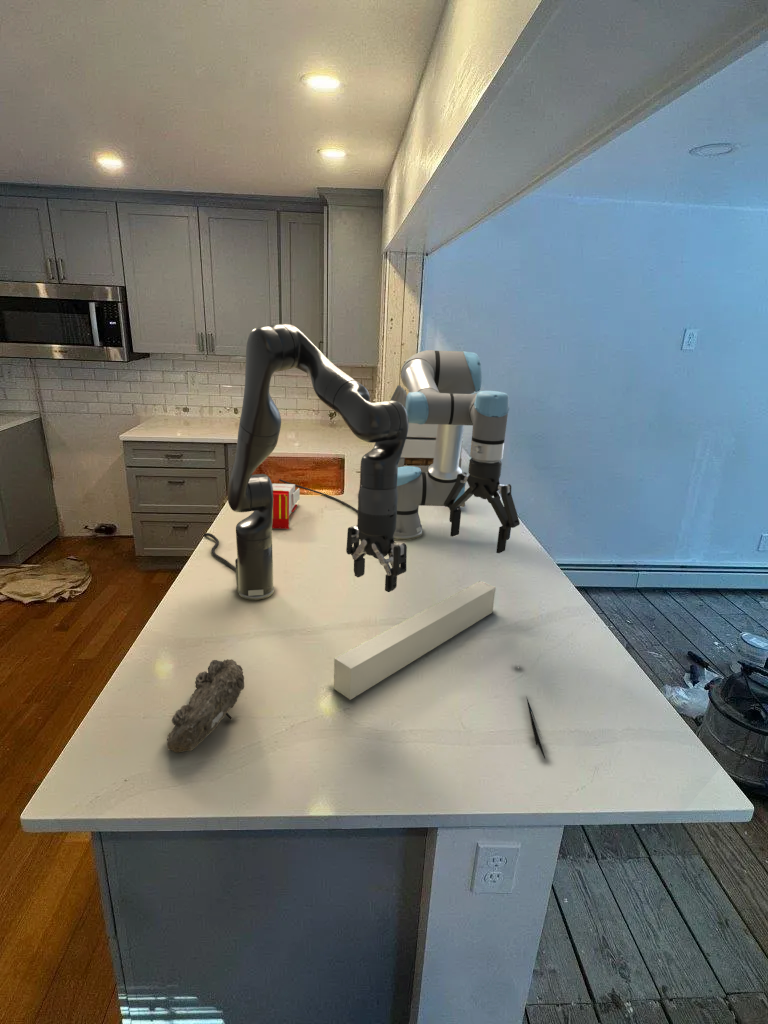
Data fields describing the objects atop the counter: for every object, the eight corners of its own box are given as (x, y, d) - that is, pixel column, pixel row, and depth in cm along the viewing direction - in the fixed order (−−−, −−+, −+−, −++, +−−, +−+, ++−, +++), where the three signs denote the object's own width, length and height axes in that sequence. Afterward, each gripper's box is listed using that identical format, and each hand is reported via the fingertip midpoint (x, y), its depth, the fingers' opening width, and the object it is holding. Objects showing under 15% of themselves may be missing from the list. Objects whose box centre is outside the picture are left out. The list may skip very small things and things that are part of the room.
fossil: (192, 660, 117) (244, 628, 112) (224, 691, 120) (276, 661, 115) (142, 746, 98) (202, 712, 93) (182, 779, 101) (242, 748, 96)
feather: (518, 672, 127) (523, 666, 127) (544, 763, 101) (551, 755, 100) (512, 668, 127) (517, 662, 127) (537, 758, 101) (544, 751, 100)
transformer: (382, 463, 289) (386, 382, 275) (445, 464, 293) (451, 384, 279) (390, 482, 257) (394, 392, 243) (460, 483, 261) (468, 394, 247)
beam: (477, 605, 154) (479, 580, 151) (492, 612, 150) (495, 587, 148) (333, 688, 118) (334, 658, 115) (350, 700, 114) (351, 668, 112)
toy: (301, 479, 224) (291, 492, 194) (301, 512, 226) (291, 530, 197) (270, 478, 223) (256, 491, 194) (271, 511, 226) (256, 529, 197)
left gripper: (337, 501, 110) (336, 576, 116) (391, 521, 101) (387, 602, 107) (365, 494, 115) (362, 566, 121) (418, 512, 106) (413, 589, 112)
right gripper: (433, 451, 137) (427, 532, 144) (525, 473, 121) (513, 563, 129) (452, 446, 142) (445, 525, 150) (542, 467, 127) (529, 554, 134)
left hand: (374, 583), depth 114 cm, fingers open, 8 cm apart
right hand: (476, 543), depth 139 cm, fingers open, 13 cm apart
